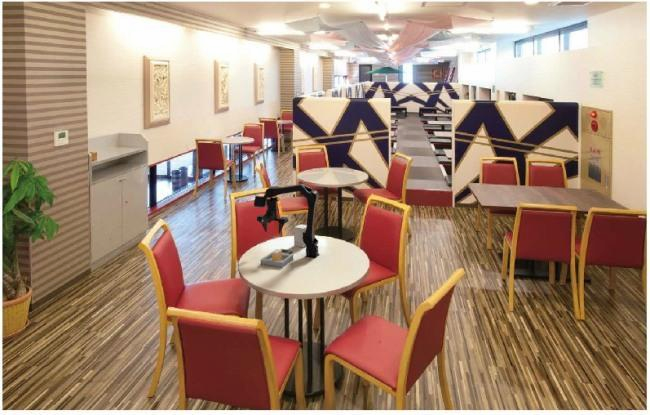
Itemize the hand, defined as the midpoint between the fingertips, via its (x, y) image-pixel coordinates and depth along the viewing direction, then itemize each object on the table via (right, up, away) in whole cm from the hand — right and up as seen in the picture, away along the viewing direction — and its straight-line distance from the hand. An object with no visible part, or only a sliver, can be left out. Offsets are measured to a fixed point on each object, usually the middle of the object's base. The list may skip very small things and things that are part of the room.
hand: (272, 232), depth 312 cm
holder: (+6, -13, +2) cm, 14 cm away
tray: (+4, -16, -12) cm, 20 cm away
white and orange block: (+4, -16, -12) cm, 20 cm away
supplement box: (+17, -9, +18) cm, 26 cm away
